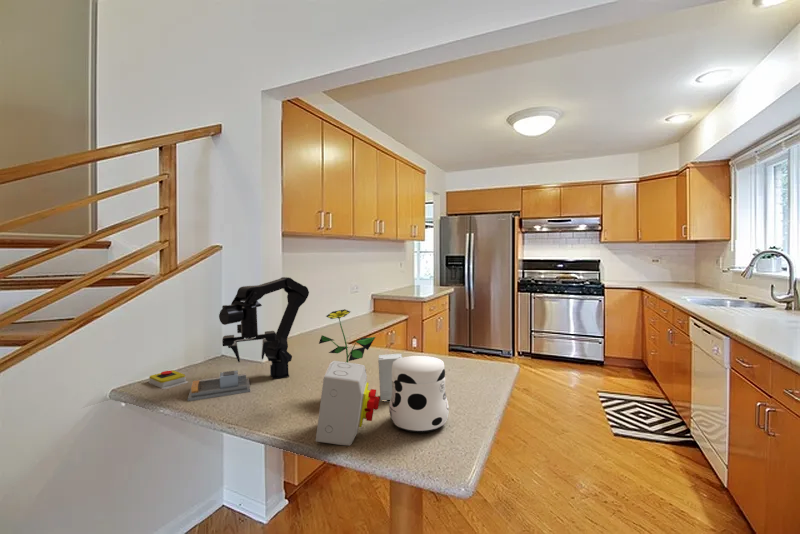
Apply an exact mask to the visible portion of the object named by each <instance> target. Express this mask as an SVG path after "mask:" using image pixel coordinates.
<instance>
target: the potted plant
mask: <svg viewBox="0 0 800 534" xmlns="http://www.w3.org/2000/svg"><path fill="white" fill-rule="evenodd" d="M350 313H351V311H350V310H348V309H340V310H335V311H331V312H330V313H328V314H327V315H325V317H326V318H328V319H330V320H333V319H338V321H339V326H340V328H341V332H342V333H341V334H342V336H343V340H344V343H345V345H344V346H339V345H338V344H337V343H336V342H335V341H334V339H333V338H330V337H327V336H325V335H321V337H320V339H319V341H318V344H325V343H327V342H332V344H334V345H335V346H336V347H335V348H333V349H332V350H330V351H329V352H328V354H340V353H341V352H344V350H345V353H346V355H345V356H346V362H348V363H349V362H351V361H354V360H359V359H363V357H364V355H365V354H364V353H365V350H367V351H368V350H369V349H370V347H371V346H372V344H373V342H374V340H375V339H376V336H373V337H372V336H371V337H361V338H360V339H357V340H355V344H354V345H353V347H352V348H351V350H350V352H349V351H348V349H349V347H348V345H347V340H346V335H345V334H344V329H343V326H342V322H341V318H345V317H346V316H348V315H349V314H350ZM356 344H358V345H360V347H358V348H355V346H356ZM354 348H355V349H354ZM365 370H366V371H367V369H366V368H365Z"/></svg>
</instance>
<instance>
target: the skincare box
mask: <svg viewBox="0 0 800 534" xmlns="http://www.w3.org/2000/svg"><path fill="white" fill-rule="evenodd" d="M399 358H403V356H402V353H393V354H392V353H390V354H389V353H388V354H378V359H377V360H378V361H377V362H378V376H379V379H378V380H379V395H380V396H379V397H380V399H379V400H380V401H381V400H390V399H391V395H392V365H393V362H394V361H395V360H397V359H399Z"/></svg>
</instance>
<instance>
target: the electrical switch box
mask: <svg viewBox="0 0 800 534" xmlns="http://www.w3.org/2000/svg"><path fill="white" fill-rule="evenodd" d="M365 369H366V367H365V365H364V364H359V363H355V362H349V361H348V362H345V361H339V360H332V362H329V364H328V367H327V369H326V371H325V372H324V373H325V374H324V376H323V382H322V389H321V396H320V402H319V403H320V405H319V410H318V411H319V412H318V420H317V426H316V427H317V428H316V435H315V442H317V443H318V442H319V443H325V444H333V445H339V446H352V443H353V442H354V440H355V438H356V436H357V434H358V431H359V428H362V426H363V421H364V419H365V421H368V422H373V417H374V410H376V411H377V410H379V405H380V400H381V399H380V396H377V395H376V394H377V389H372V388H371V389H370V390H369V382H367V381H368V375H367V369H366V370H365Z"/></svg>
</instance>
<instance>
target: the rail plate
mask: <svg viewBox="0 0 800 534" xmlns="http://www.w3.org/2000/svg"><path fill="white" fill-rule="evenodd" d="M250 384H251V383H250V378H249V377H248V378H247V374H246V373H241V374H239V373H238V386H233V387H226V388H220V376H218V377H210V378H203V379H195V380H193V381H192V384H191V387H190V390H189V394H188V396H187V402H191V401H198V400H199V401H200V400H205V399H206V400H207V399H212V398H213V399H214V398H217V397H224V396H231V395H239V394H245V393H251V385H250Z"/></svg>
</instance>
